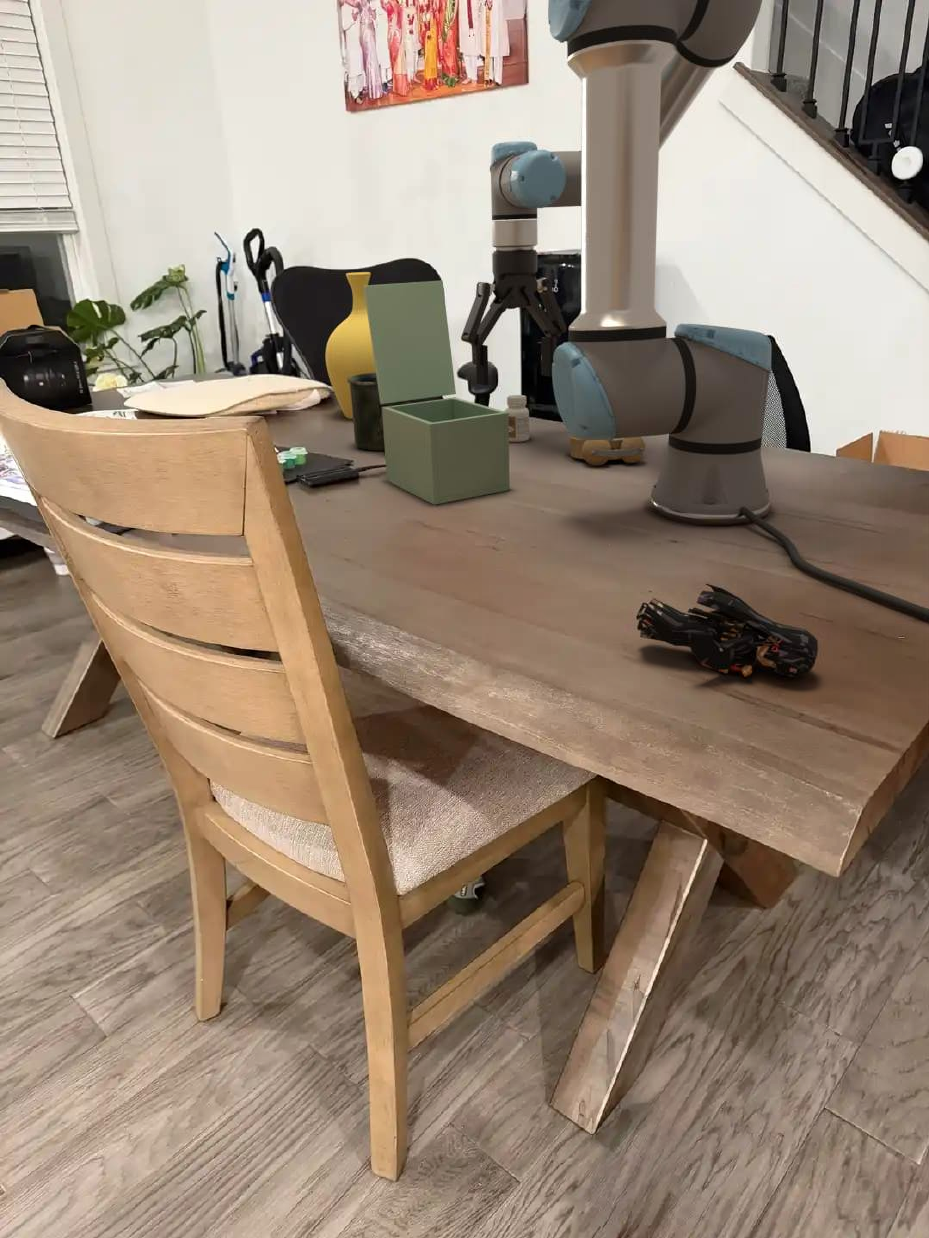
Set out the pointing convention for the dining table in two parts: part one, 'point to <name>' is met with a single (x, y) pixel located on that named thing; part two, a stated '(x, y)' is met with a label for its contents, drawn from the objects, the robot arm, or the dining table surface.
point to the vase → (351, 345)
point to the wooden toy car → (607, 450)
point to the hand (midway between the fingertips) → (515, 380)
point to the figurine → (730, 635)
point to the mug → (368, 411)
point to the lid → (410, 340)
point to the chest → (446, 449)
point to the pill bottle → (518, 418)
